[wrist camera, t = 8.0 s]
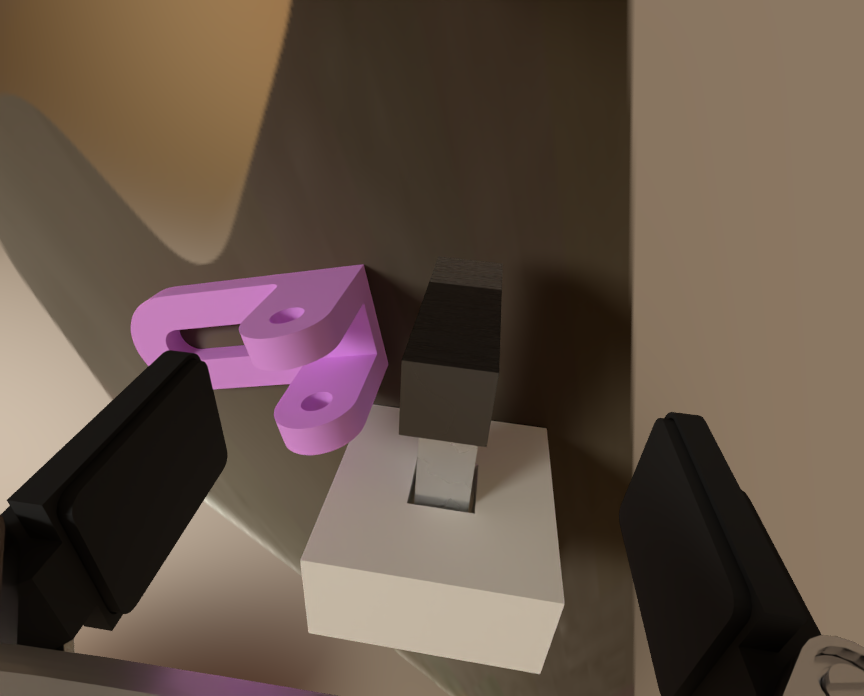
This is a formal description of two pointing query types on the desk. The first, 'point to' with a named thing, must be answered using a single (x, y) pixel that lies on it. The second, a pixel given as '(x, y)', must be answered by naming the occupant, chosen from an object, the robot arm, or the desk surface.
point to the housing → (439, 552)
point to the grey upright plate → (452, 378)
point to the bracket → (283, 346)
